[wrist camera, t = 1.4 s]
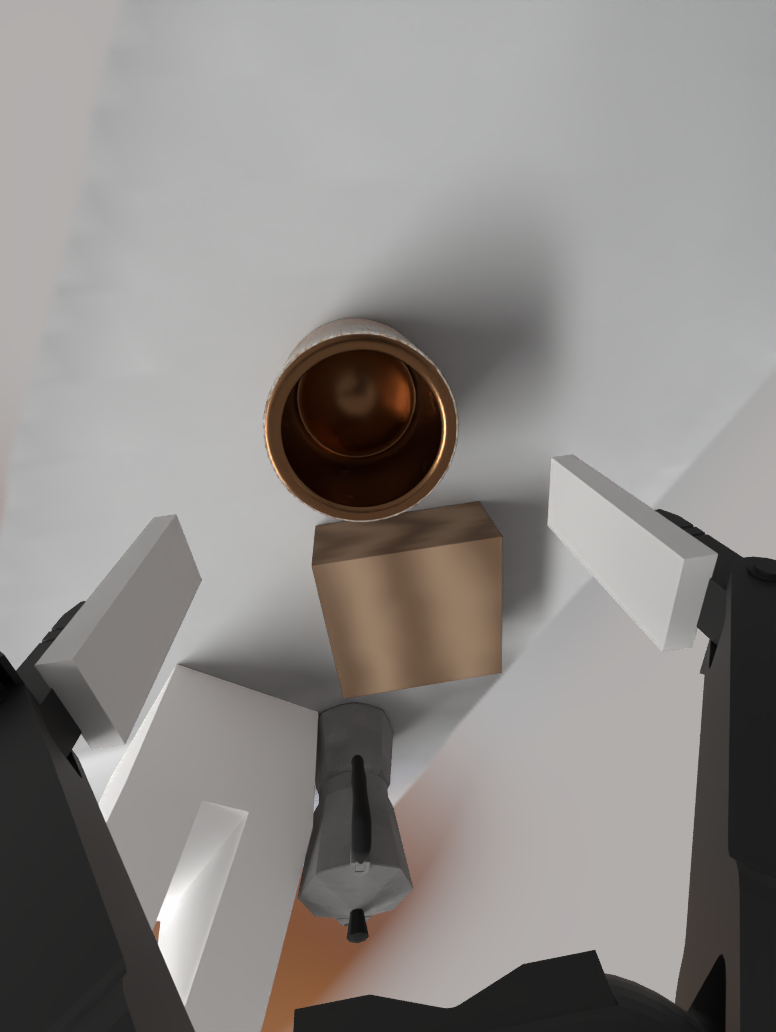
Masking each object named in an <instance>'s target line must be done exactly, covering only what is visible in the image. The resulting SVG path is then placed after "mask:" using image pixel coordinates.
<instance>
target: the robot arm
mask: <svg viewBox="0 0 776 1032" xmlns="http://www.w3.org/2000/svg"><path fill="white" fill-rule="evenodd" d="M548 527H549V528H550V529H551V530H552V531H553V532H554V533H555V534H556V535H557V537H558V538H559V539H560V540H561V541H562V542H563V543H564V544H565V545H566V546H567V548H568V549H569V550H570V551H571V552H572V553H573V554H574V555H575V556H576V557H577V559H578V560H579V561H580V562H581V563H582V564H583V565H584V566H585V567H586V568H587V570H588V571H589V572H590V573H591V574H592V575H593V576H594V577H595V578H596V579H597V580H598V582H599V583H600V584H601V585H602V586H603V587H604V588H605V589H606V591H607V592H608V593H609V594H610V595H611V596H612V597H613V598H614V599H615V600H616V602H617V603H618V604H619V605H620V606H621V607H622V608H623V609H624V610H625V611H626V613H627V614H628V615H629V616H630V617H631V618H632V619H633V620H634V621H635V622H636V624H637V625H638V626H639V627H640V628H641V629H642V630H643V631H644V632H645V634H646V635H647V636H648V637H649V638H650V639H651V640H652V641H653V642H654V643H655V645H657V647H658V648H659V649H660V650H661V651H662V652H667V651H673V650H679V649H684V648H690V647H692V646H693V642H694V639H695V636H696V632H697V628H699V629H700V630H701V631H702V632H703V633H704V634H705V635H706V636H707V637H708V638H709V639H710V640H709V644H708V647H707V650H706V654H705V657H704V660H703V664H702V667H701V670H700V673H701V674H704V675H705V678H704V691H703V706H702V719H701V733H700V748H699V761H698V775H697V790H696V804H695V817H694V832H693V846H692V859H691V872H690V886H689V887H690V888H689V900H688V914H687V928H686V939H685V948H684V955H683V959H682V964H681V968H680V973H679V978H678V985H677V991H676V999H675V1004H674V1003H673V1002H671V1001H669V1000H668V999H666V998H665V997H663V996H662V995H660V994H658V993H657V992H655V991H652V990H650V989H648V988H646V987H644V986H642V985H640V984H638V983H636V982H633V981H630V980H627V979H624V978H621V977H618V976H615V975H610V974H605V973H604V971H603V969H602V966H601V964H600V961H599V959H598V956H597V953H596V951H595V950H592V951H587V952H582V953H578V954H572V955H567V956H562V957H557V958H552V959H547V960H542V961H537V962H532V963H527V964H523V965H521V966H520V967H518V968H516V969H515V970H513V971H512V972H510V973H509V974H507V975H505V976H504V977H502V978H501V979H499V980H498V981H496V982H494V983H493V984H491V985H490V986H488V987H487V988H485V989H483V990H482V991H480V992H479V993H477V994H476V995H474V996H473V997H471V998H469V999H468V1000H466V1001H465V1002H463V1003H462V1004H460V1005H458V1006H456V1007H453V1008H440V1007H435V1006H429V1005H423V1004H418V1003H413V1002H407V1001H402V1000H396V999H391V998H385V997H380V996H375V995H365V996H361V997H355V998H350V999H345V1000H340V1001H335V1002H330V1003H325V1004H320V1005H315V1006H310V1007H305V1008H300V1009H295V1013H294V1031H293V1032H776V560H773V559H769V558H761V557H746V558H743V557H741V556H740V555H738V554H737V553H735V552H734V551H732V550H730V549H729V548H728V547H726V546H725V545H723V544H721V543H720V542H718V541H717V540H715V539H714V538H712V537H711V536H709V535H705V532H703V531H702V530H700V529H698V528H697V527H693V525H692V524H691V523H689V522H688V521H686V520H684V519H683V518H682V517H680V516H678V515H675V514H672V513H670V512H667V511H664V510H661V509H658V510H653V509H652V508H650V507H649V506H647V505H646V504H645V503H643V502H642V501H640V500H639V499H637V498H636V497H634V496H633V495H631V494H630V493H628V492H627V491H626V490H624V489H623V488H621V487H620V486H618V485H617V484H615V483H614V482H612V481H611V480H610V479H608V478H607V477H605V476H604V475H602V474H601V473H599V472H598V471H596V470H595V469H593V468H592V467H591V466H589V465H588V464H586V463H585V462H583V461H582V460H580V459H579V458H577V457H576V456H574V455H573V454H571V455H565V456H558V457H552V458H551V475H550V492H549V508H548ZM201 581H202V579H201V577H200V574H199V572H198V569H197V566H196V564H195V561H194V559H193V556H192V553H191V551H190V548H189V546H188V543H187V541H186V538H185V535H184V533H183V530H182V528H181V525H180V523H179V520H178V517H177V515H176V514H175V515H168V516H162V517H155V518H153V519H152V520H151V522H150V523H149V524H148V525H147V526H146V528H145V529H144V530H143V531H142V533H141V534H140V535H139V536H138V538H137V539H136V540H135V541H134V543H133V544H132V545H131V546H130V548H129V549H128V550H127V551H126V552H125V554H124V555H123V556H122V557H121V559H120V560H119V561H118V562H117V564H116V565H115V566H114V567H113V569H112V570H111V571H110V572H109V574H108V575H107V576H106V577H105V578H104V580H103V581H102V582H101V583H100V585H99V586H98V587H97V588H96V590H95V591H94V592H93V593H92V595H91V596H90V597H89V598H88V600H87V601H83V602H80V603H79V604H77V605H76V606H75V607H73V608H72V609H71V610H69V611H68V612H67V613H65V614H64V615H63V616H62V617H61V618H60V619H59V621H58V622H57V623H56V624H55V625H54V627H53V628H52V631H51V632H49V633H48V634H47V635H46V636H45V637H44V638H43V640H42V643H39V644H38V646H37V647H36V648H35V649H34V650H33V651H32V653H31V654H30V655H29V656H28V657H27V659H26V660H25V661H24V662H23V663H22V665H21V666H20V667H19V668H18V669H17V670H16V671H15V669H14V668H13V666H12V665H11V664H10V662H9V661H8V659H7V658H6V657H5V655H4V654H3V653H1V652H0V1032H195V1030H194V1028H193V1026H192V1023H191V1021H190V1019H189V1016H188V1014H187V1012H186V1009H185V1007H184V1005H183V1002H182V1000H181V997H180V995H179V993H178V990H177V988H176V986H175V983H174V981H173V979H172V976H171V974H170V972H169V969H168V967H167V965H166V962H165V960H164V958H163V955H162V953H161V951H160V948H159V946H158V944H157V941H156V939H155V937H154V935H153V932H152V930H151V927H150V925H149V923H148V920H147V918H146V916H145V913H144V911H143V908H142V906H141V904H140V901H139V899H138V897H137V894H136V892H135V890H134V887H133V885H132V883H131V880H130V878H129V876H128V873H127V871H126V869H125V866H124V864H123V862H122V859H121V857H120V855H119V852H118V850H117V848H116V845H115V843H114V841H113V838H112V836H111V834H110V831H109V829H108V827H107V824H106V822H105V819H104V817H103V815H102V812H101V810H100V808H99V805H98V803H97V801H96V798H95V796H94V794H93V791H92V789H91V787H90V784H89V782H88V780H87V777H86V775H85V773H84V770H83V768H82V766H81V763H80V761H79V759H78V757H77V756H76V754H75V753H74V752H73V750H72V748H73V747H74V745H75V743H76V741H77V740H78V738H79V736H80V734H82V736H83V737H84V739H85V740H86V742H87V743H88V745H89V746H90V748H91V749H92V750H95V749H101V748H107V747H113V746H119V745H124V744H126V742H127V739H128V737H129V735H130V733H131V731H132V729H133V727H134V724H135V722H136V720H137V718H138V716H139V714H140V712H141V709H142V707H143V705H144V703H145V701H146V699H147V697H148V694H149V692H150V690H151V688H152V686H153V684H154V681H155V679H156V677H157V675H158V673H159V671H160V669H161V666H162V664H163V662H164V660H165V658H166V656H167V654H168V651H169V649H170V647H171V645H172V643H173V641H174V639H175V636H176V634H177V632H178V630H179V628H180V626H181V624H182V621H183V619H184V617H185V615H186V613H187V611H188V608H189V606H190V604H191V602H192V600H193V598H194V596H195V593H196V591H197V589H198V587H199V585H200V583H201Z"/></svg>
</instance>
